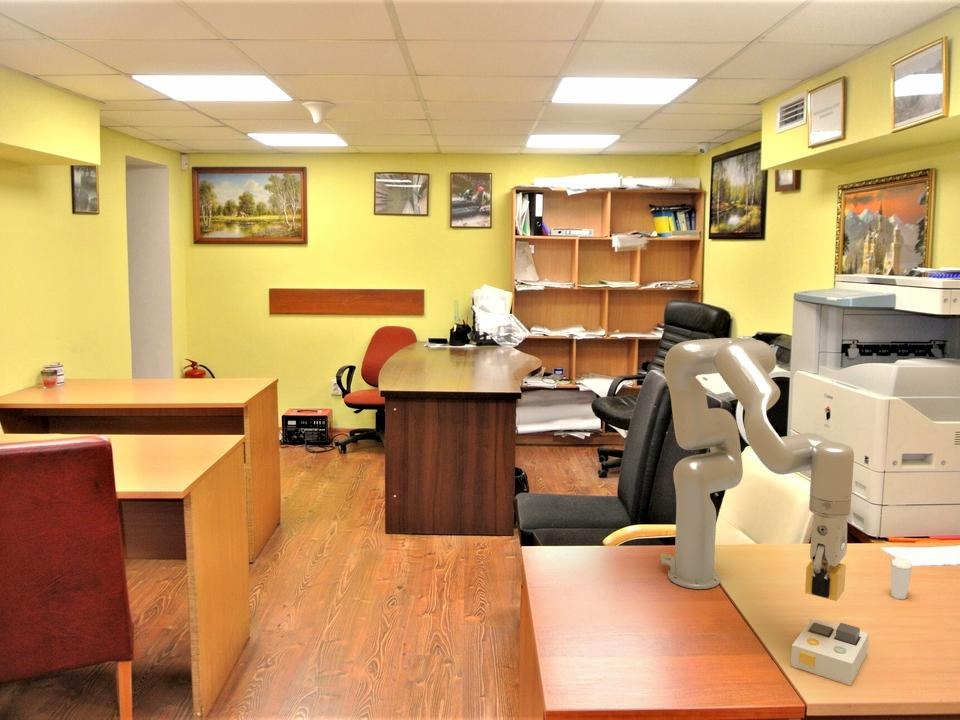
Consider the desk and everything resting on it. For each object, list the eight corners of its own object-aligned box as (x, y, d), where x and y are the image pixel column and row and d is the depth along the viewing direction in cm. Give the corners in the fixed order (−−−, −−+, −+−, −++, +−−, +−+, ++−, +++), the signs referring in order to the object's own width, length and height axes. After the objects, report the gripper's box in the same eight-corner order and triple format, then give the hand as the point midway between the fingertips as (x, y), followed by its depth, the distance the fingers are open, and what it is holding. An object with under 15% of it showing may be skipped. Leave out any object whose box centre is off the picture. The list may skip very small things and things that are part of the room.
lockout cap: (804, 592, 154) (806, 567, 153) (813, 582, 159) (814, 557, 158) (836, 601, 151) (838, 574, 150) (844, 590, 155) (845, 564, 154)
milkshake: (880, 592, 182) (883, 553, 181) (901, 591, 183) (905, 552, 181) (892, 601, 178) (895, 560, 176) (914, 600, 178) (917, 560, 177)
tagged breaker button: (808, 647, 157) (809, 629, 156) (813, 640, 159) (814, 622, 159) (826, 653, 154) (828, 634, 154) (831, 645, 157) (832, 627, 156)
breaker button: (834, 648, 153) (836, 629, 153) (839, 640, 156) (840, 622, 155) (854, 654, 151) (855, 635, 150) (858, 646, 154) (859, 628, 153)
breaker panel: (790, 666, 151) (791, 644, 150) (810, 637, 162) (811, 616, 162) (850, 686, 144) (852, 662, 144) (867, 654, 156) (868, 632, 155)
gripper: (839, 521, 143) (833, 611, 146) (860, 496, 156) (854, 579, 159) (797, 512, 148) (792, 600, 150) (821, 489, 161) (816, 570, 164)
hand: (824, 588), depth 155 cm, fingers closed on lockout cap, 6 cm apart
